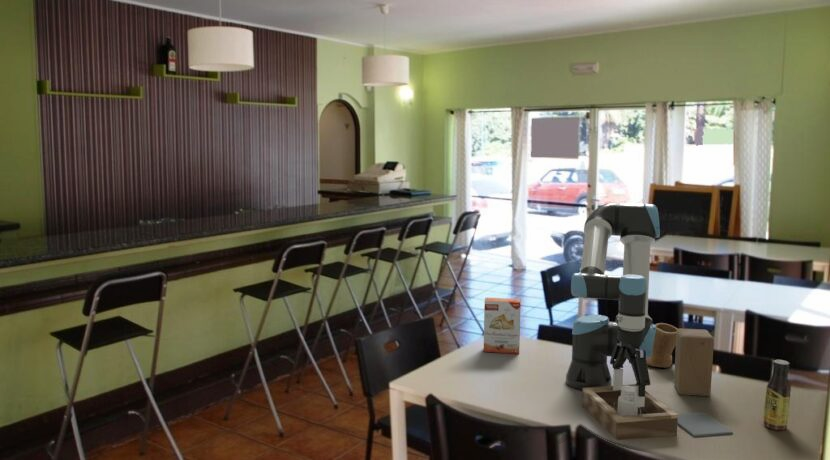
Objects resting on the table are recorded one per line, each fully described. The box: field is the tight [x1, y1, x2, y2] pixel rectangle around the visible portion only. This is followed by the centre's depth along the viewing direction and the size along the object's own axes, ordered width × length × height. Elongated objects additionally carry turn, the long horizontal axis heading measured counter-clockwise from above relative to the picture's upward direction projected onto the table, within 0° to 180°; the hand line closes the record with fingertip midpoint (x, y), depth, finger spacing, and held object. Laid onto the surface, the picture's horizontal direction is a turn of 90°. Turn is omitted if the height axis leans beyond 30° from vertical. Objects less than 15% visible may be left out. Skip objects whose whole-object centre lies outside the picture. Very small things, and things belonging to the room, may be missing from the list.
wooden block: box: [673, 327, 715, 397], centre depth 223 cm, size 10×10×20 cm
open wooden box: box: [581, 383, 679, 441], centre depth 202 cm, size 24×18×6 cm
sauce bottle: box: [762, 359, 792, 431], centre depth 195 cm, size 6×6×20 cm
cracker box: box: [483, 297, 522, 355], centre depth 265 cm, size 14×6×21 cm, turn 80°
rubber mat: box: [677, 411, 734, 438], centre depth 198 cm, size 14×12×1 cm
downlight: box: [613, 384, 642, 416], centre depth 201 cm, size 8×7×10 cm
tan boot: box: [646, 322, 678, 368], centre depth 251 cm, size 15×12×15 cm
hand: (628, 398), depth 201 cm, fingers open, 13 cm apart
